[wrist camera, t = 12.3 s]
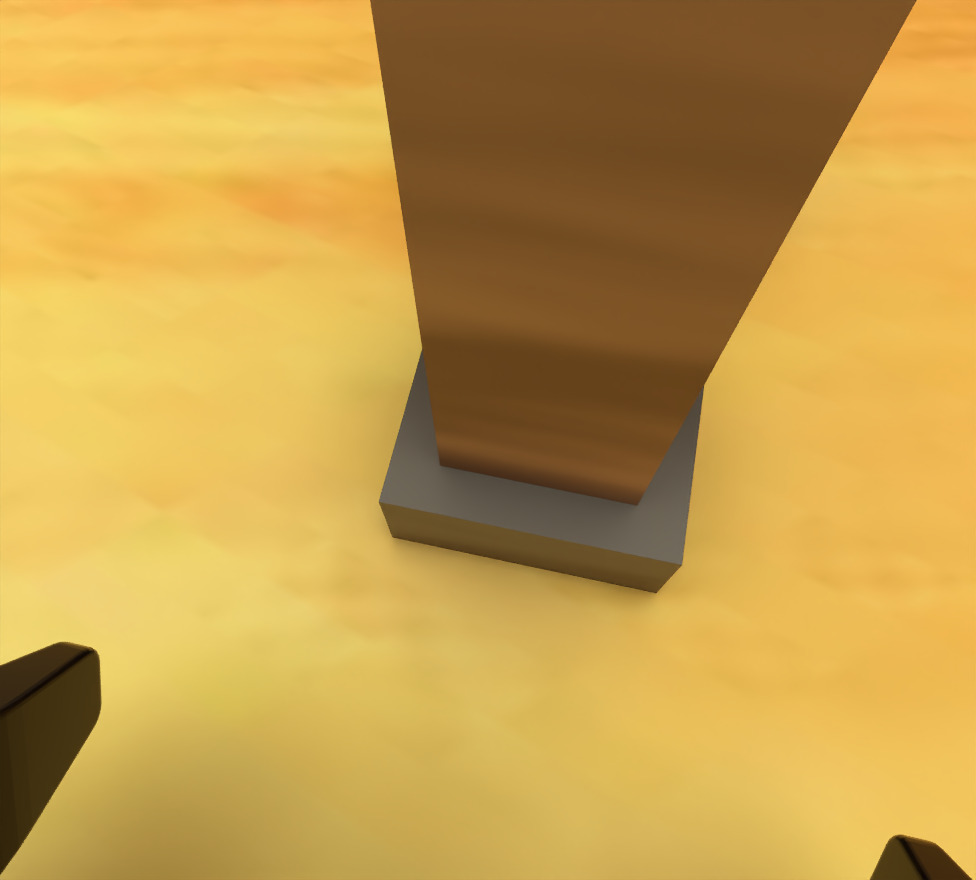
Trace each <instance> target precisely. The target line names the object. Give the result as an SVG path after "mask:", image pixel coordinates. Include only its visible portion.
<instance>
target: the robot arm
mask: <svg viewBox="0 0 976 880" xmlns="http://www.w3.org/2000/svg"><path fill="white" fill-rule="evenodd" d="M100 710H101V680H100V659H99V655H98V653H97V651H96V650H95V649H93V648H91V647H87V646H83V645H78V644H74V643H70V642H59V643H56V644H53V645H50V646H48V647H45V648H43V649H40V650H38V651H35V652H33V653H30V654H28V655H25V656H23V657H20V658H18V659H15V660H13V661H10V662H8V663H5V664H3V665H0V874H1V873H2V872H3V870H4V869H5V868H6V866H7V865H8V863H9V862H10V861H11V859H12V858H13V856H14V855H15V854H16V852H17V851H18V850H19V848H20V847H21V845H22V844H23V842H24V840H25V839H26V837H27V836H28V834H29V833H30V831H31V830H32V828H33V826H34V825H35V823H36V822H37V820H38V818H39V817H40V815H41V813H42V812H43V810H44V808H45V807H46V805H47V804H48V802H49V800H50V799H51V797H52V795H53V794H54V792H55V790H56V789H57V787H58V786H59V784H60V782H61V781H62V779H63V777H64V776H65V774H66V772H67V771H68V769H69V767H70V766H71V764H72V763H73V761H74V759H75V758H76V756H77V754H78V753H79V751H80V749H81V748H82V746H83V745H84V743H85V741H86V740H87V738H88V736H89V735H90V733H91V731H92V730H93V728H94V726H95V724H96V722H97V720H98V717H99V714H100ZM870 880H972V879H971V878H970V877H969V876H968V875H967V874H966V873H965V872H964V871H963V870H962V869H961V868H960V867H959V866H958V865H957V864H956V863H955V861H954V860H953V859H952V858H951V857H950V856H949V855H948V854H947V853H946V852H945V851H944V850H943V849H942V848H940V847H939V846H938V845H937V844H935V843H933V842H930V841H927V840H923V839H918V838H914V837H910V836H905V835H895V836H893V837H892V838H890V839H889V841H888V843H887V844H886V846H885V849H884V851H883V853H882V855H881V857H880V859H879V861H878V864H877V866H876V868H875V870H874V872H873V874H872V876H871V878H870Z"/></svg>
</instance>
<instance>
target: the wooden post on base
mask: <svg viewBox="0 0 976 880" xmlns="http://www.w3.org/2000/svg"><path fill="white" fill-rule="evenodd" d="M370 2H371V8H372V15H373V22H374V28H375V35H376V42H377V48H378V55H379V62H380V68H381V75H382V82H383V88H384V95H385V102H386V108H387V115H388V122H389V128H390V135H391V142H392V148H393V155H394V162H395V168H396V175H397V182H398V189H399V195H400V202H401V209H402V215H403V222H404V229H405V235H406V242H407V249H408V255H409V262H410V269H411V275H412V282H413V289H414V295H415V302H416V309H417V315H418V322H419V329H420V335H421V342H422V352H421V355H420V359H419V362H418V366H417V369H416V373H415V376H414V380H413V383H412V387H411V390H410V394H409V398H408V401H407V405H406V408H405V412H404V415H403V419H402V422H401V426H400V429H399V433H398V436H397V440H396V443H395V447H394V450H393V454H392V457H391V461H390V464H389V468H388V471H387V475H386V478H385V482H384V485H383V489H382V492H381V496H380V500H379V503H380V506H381V509H382V511H383V514H384V516H385V519H386V521H387V524H388V526H389V529H390V532H391V534H392V537H394V538H399V539H404V540H409V541H413V542H418V543H423V544H427V545H432V546H437V547H442V548H446V549H451V550H456V551H460V552H465V553H470V554H475V555H479V556H484V557H489V558H494V559H498V560H503V561H508V562H512V563H517V564H522V565H527V566H531V567H536V568H541V569H545V570H550V571H555V572H560V573H564V574H569V575H574V576H578V577H583V578H588V579H593V580H597V581H602V582H607V583H611V584H616V585H621V586H626V587H630V588H635V589H640V590H644V591H649V592H654V593H657V592H658V591H659V589H660V588H661V587H662V586H663V585H664V584H665V583H666V582H667V581H668V580H669V579H670V577H671V576H672V575H673V574H674V573H675V572H676V571H677V570H678V569H679V568H680V566H681V565H682V560H683V552H684V544H685V536H686V528H687V519H688V511H689V503H690V495H691V487H692V479H693V471H694V463H695V454H696V446H697V438H698V430H699V422H700V414H701V406H702V398H703V389H704V384H705V382H706V380H707V379H708V377H709V375H710V373H711V371H712V370H713V368H714V366H715V364H716V362H717V361H718V359H719V357H720V355H721V353H722V351H723V350H724V348H725V346H726V344H727V342H728V341H729V339H730V337H731V335H732V333H733V332H734V330H735V328H736V326H737V324H738V323H739V321H740V319H741V317H742V315H743V313H744V312H745V310H746V308H747V306H748V304H749V303H750V301H751V299H752V297H753V295H754V294H755V292H756V290H757V288H758V286H759V284H760V283H761V281H762V279H763V277H764V275H765V274H766V272H767V270H768V268H769V266H770V265H771V263H772V261H773V259H774V257H775V256H776V254H777V252H778V250H779V248H780V246H781V245H782V243H783V241H784V239H785V237H786V236H787V234H788V232H789V230H790V228H791V227H792V225H793V223H794V221H795V219H796V217H797V216H798V214H799V212H800V210H801V208H802V207H803V205H804V203H805V201H806V199H807V198H808V196H809V194H810V192H811V190H812V189H813V187H814V185H815V183H816V181H817V179H818V178H819V176H820V174H821V172H822V170H823V169H824V167H825V165H826V163H827V161H828V160H829V158H830V156H831V154H832V152H833V150H834V149H835V147H836V145H837V143H838V141H839V140H840V138H841V136H842V134H843V132H844V131H845V129H846V127H847V125H848V123H849V122H850V120H851V118H852V116H853V114H854V112H855V111H856V109H857V107H858V105H859V103H860V102H861V100H862V98H863V96H864V94H865V93H866V91H867V89H868V87H869V85H870V83H871V82H872V80H873V78H874V76H875V74H876V73H877V71H878V69H879V67H880V65H881V64H882V62H883V60H884V58H885V56H886V55H887V53H888V51H889V49H890V47H891V45H892V44H893V42H894V40H895V38H896V36H897V35H898V33H899V31H900V29H901V27H902V26H903V24H904V22H905V20H906V18H907V16H908V15H909V13H910V11H911V9H912V7H913V6H914V4H915V2H916V0H370Z"/></svg>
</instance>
